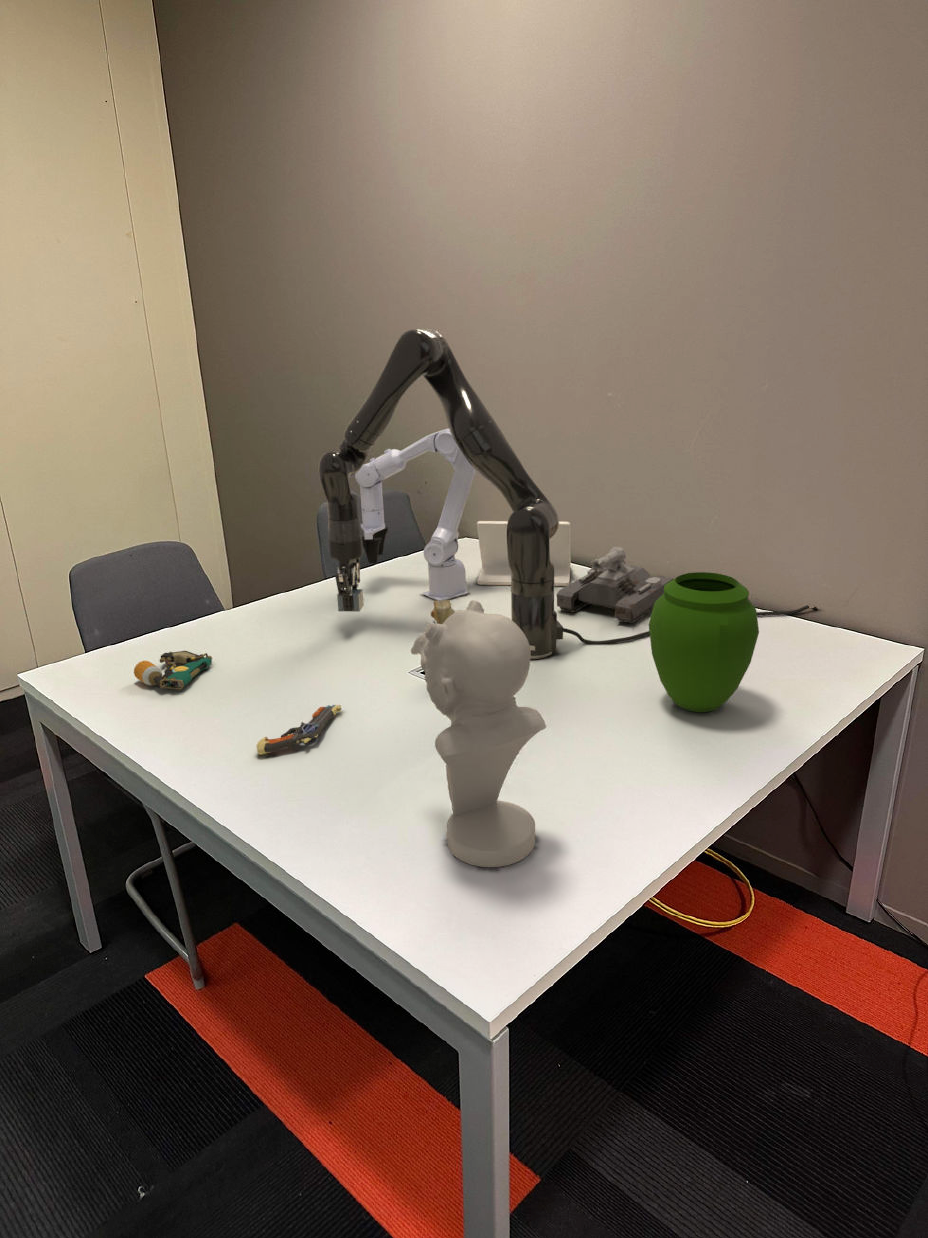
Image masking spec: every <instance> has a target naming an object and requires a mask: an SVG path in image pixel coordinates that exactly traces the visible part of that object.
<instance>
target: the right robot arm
mask: <svg viewBox="0 0 928 1238" xmlns="http://www.w3.org/2000/svg"><path fill="white" fill-rule="evenodd" d="M421 377H423V378H424V379H425V380H426V382H427V383H428V384H429V385H430V387H431V389H432V390H433V391H434V393H435V394H436V396H437V398H438V399H439V402H440V403H441V406H442V409H443V412H444V415H445V419H446V423H447V425H448V426H447V427H448V429H450V432H451V435H452V437H453V439H454V441H455V442H456V444H457V445H458V447H459V448H460V450H461V452H462V453H463V455H464V456H465V458H466V459H467V461H468V462H469V463H470V464H471V466H472V467H473V468H474V469H475V470H476V472H477V473H479V474H480V475H481V476H482V477H483V478H484V479H486V480H487V481H488V482H489V483H490V484H492V486H494V487H495V488H496V489H497V491H499V493H500V494H501V495H502V496H503V498H504V499H505V501H506V502H507V504H508V506H509V507H510V510H511V511H512V512H511V513H510V515H509V517H508V519H507V521H508V523H507V555H508V564H509V567H510V570H511V585H510V588H511V589H510V597H511V599H510V603H511V604H510V606H511V607H510V609H511V610H510V615H511V617H510V619H511V620H512V621H513V622H514V623H515V624H516V625H517V626H518V627H519V628H520V629H521V630H522V632H523V633H524V634H525V636H526V638H527V640H528V643H529V646H530V652H531V653H530V655H531V656H530V660H540V659H545V658H548V657H550V656H552V655H557V654H558V653H557V650H558V649H557V648H558V647H557V645H558V644H557V643H558V641H560V640H564V633H566V634H570V635H573V636H575V637H576V638H577V639H578V640H579V641H580V642H582V643H584V644H587V645H610V644H616V643H617V644H618V643H622V642H623V643H624V642H628V641H632V640H637V639H639V638H642V637H647V636H650V632H649V630H647V631H643V632H641V633H637V634H634V635H630V636H626V637H625V636H624V637H619V638H612V639H606V640H590V639H585V638H583V636H582V635H581V634H580V633H579V632H577V631H575V630H573V629H569V628H566V627H564V626H563V625H562V624H561V623H560V622H559V620H558V613H557V612H556V611H555V586H554V565H553V563H552V562H550V547H549V539H551V538H552V537H553V536H554V535H555V533H556V532H557V529H558V526H559V522H560V520H559V515H558V512H557V510H556V508H555V507H554V505H553V504H552V503H551V501H550V500H549V499H548V497H547V496H546V495H545V494H544V493H543V492H542V490H541V489H540V488H539V486H538V485H537V484H536V482H534V480H533V479H532V478H531V476H530V475H529V473H528V472H527V470H526V469H525V467H524V466H523V464H522V462H521V460H520V458H519V457H518V455H517V454H516V453H515V451H514V449H513V448H512V446H511V445H510V443H509V442H508V440H507V438H506V436H505V434H504V433H503V432H502V430H501V428H500V426H499V425H498V424H497V422H496V420H495V419H494V417H493V415H491V413H490V411H489V410H488V409H487V407H486V406H485V404H484V403H483V401H482V399H481V398H480V397H479V396H478V394H477V392H476V391H475V389H474V388H473V387H472V385H471V384H470V383H469V381H468V379H467V377H466V376H465V374H464V372H463V370H462V369H461V366H460V365H459V363H458V360H457V358H456V357H455V355H454V353H453V351H452V348H451V347H450V345H449V343H448V342H447V340H446V338H445V337H444V336H443V334H441V332H439V331H438V330H435V329H432V328H430V327H429V328H428V327H423V328H422V327H421V328H411V329H409V330H406V331H404V332H403V333H402V334H401V335H400V336H399V338H398V339H397V341H396V343H395V345H394V347H393V349H392V351H391V354H390V355H389V357H388V360H387V362H386V363H385V366H384V367H383V370H382V371H381V374H380V376H379V377H378V379H377V381H376V382H375V384H374V386H373V387H372V389H371V391H370V393H369V394H368V396H367V397H366V399H365V400H364V402H363V403H362V405H361V406H360V407H359V409H358V410H357V411H356V412H355V414H354V416H353V417H352V419H351V420H350V421H349V423H348V424H347V425H346V427H345V429H344V431H343V439H342V442H341V443H340V444H339V445H338V446H337V447H336V448H335V449H332V450H329V451H327V452H325V453H323V455H322V456H320V459H319V462H318V470H317V471H318V477H319V481H320V484H321V488H322V491H323V494H324V496H325V499H326V506H327V507H326V508H327V521H328V522H327V533H328V543H329V555H330V558H332V560H336V561H337V562H338V566H337V573H335V574H334V578H335V583H336V588H337V594H339V596H342V597H343V609H344V611H343V612H348V611H352V610H353V596H352V594H353V592H352V589H359V584H360V583H361V558H362V557H363V555H364V547H363V544H362V537H363V530H362V529H361V524H362V523H361V518H360V507H359V506H360V505H359V498H358V497H359V496H358V494H357V493H356V492H355V491H354V490H351V487H350V483H349V479H350V478H353V477H355V474H356V473H357V472H358V471H359V470H360V469H361V467H362V466H363V464H365V462H366V460H367V459H368V457H369V454H370V452H371V449H372V448H374V446H375V444H376V443H377V442H378V441H379V439H380V438H381V437H382V435H383V434H384V433H385V431H386V430H387V428H388V427H389V425H390V423H391V421H392V419H393V416H394V414H395V412H396V409H397V407H398V405H399V403H400V401H401V399H402V397H403V396H404V395H405V393H407V391H408V389H409V388H410V387H411V386H412V385H413V384H414V383H415V382H416V381H417V380H418V379H419V378H421ZM344 589H346V590H344ZM808 605H809V604H807V605H804V606H802V607H800V608H797V609H792V610H779V611H756V612H757V617H758V616H760V617H761V616H784V615H785V616H786V615H787V616H788V615H795V614H798V613H801V612H804V611H806V610H809V609H810V608H809V606H808ZM811 610H813V611H816V612H817V611H818V612H819V608H818V607H817V606H815V607H814V608H811Z"/></svg>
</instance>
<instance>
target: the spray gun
mask: <svg viewBox="0 0 928 1238" xmlns="http://www.w3.org/2000/svg"><path fill="white" fill-rule="evenodd" d="M212 660H213V657H212V656H211V655H208V653H207V652H205V653H201V654H197V653H194V652H192V651H191V652H190V651H188V650H180V651H169V652H164V653H162V654H161V655H160V658H159V660H158V662H159V663H161V664H163V663H165V664H166V668H165V670H163V672H164V674H163V673H162V669H160V668H159V666H157V665H156V664H154V663H152V662H151V661H149V660H141V661H139V662H138V663H136V665H135V666H134V668H133V675H134V677H135V678H136V679H137V680H139V681H140V682H142V683H143V684H145V685H147V686H155V685H157V686H158V687H160V688H161V689H171V690H172V689H173V690H182V689H184V687H185V686H186V685H188V684H189V683H190V682H191V681H192V679H193V678H195V677H196V676H197V675H198V674H200V673H201V672H202V671H203V670H206V669H208V668H209V667H210V666H211V665H212V662H213V661H212ZM178 663H179V664H181V665H179V666H176V665H177V664H178Z"/></svg>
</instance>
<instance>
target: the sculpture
mask: <svg viewBox="0 0 928 1238" xmlns="http://www.w3.org/2000/svg"><path fill="white" fill-rule="evenodd" d="M455 612H456V611H455V609H453V608H452V602H451V601H450V599H447V600H444V601H437V600H433V610H431V612H430V617H431V618H432V619H433V620H434V621H435V622H436V623H435V624H443V623H444V622H445V620H446V619H447V618H448V617H450V616H451V615H452V614H453V613H455Z"/></svg>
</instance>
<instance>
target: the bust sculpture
mask: <svg viewBox="0 0 928 1238" xmlns="http://www.w3.org/2000/svg"><path fill="white" fill-rule="evenodd" d="M454 612H455V613H453V614H452V615H451V616H450V617H448V618H447V619H446V620H445V622H444V623H443V624H436V623H435V622H430V623H428V624H427V625H426V626H425V628H424V632H423V633H421V634H419V635H418V636H417V637H416V638H415V640H414V642H413V645H412V647H411V649H410V654H412V655H420V667H421V669H422V670H423V672H424V681H425V682H426V690H427V693H428V696H429V698H430V701H431V702H432V704H434V706H435V708H436V710H438V711H439V712H440V713H441V714H442V716H446V717H447V718H448V719H449V720H450V726H448V727H446V728H445V729H443V730H442V731H441V732H440V733H439V734H438V735H436V738H435V741H434V748H435V749H436V752H437V753H438V755H439V757H440V758H441V760H442V761H443V762H444V763H445V771H446V781H447V790H448V796H449V800H450V803H451V810H452V813H451V814H450V815H449V817H448V819H447V822H446V844H447V847H448V849H449V851H450V852H451V854H452V855H453V856H454V857H456V858H457V859H459V860H460V861H462V862H463V863H466V864H469V865H471V866H476V867H483V868H498V867H505V866H509V865H512V864H517V862H520V861H521V860H523V859H525V858H527V856H528V855H530V854H531V852H532V851H533V849H535V848H534V847H535V845H536V822H535V821H536V820H535V819H534V817H533V816H532V814H531V813H530V812H529V811H528V810H526V809H525V808H524V807H522V806H520V805H517V804H515V803H513V802H509V801H504V800H499V796H500V793H501V790H502V788H503V785H504V783H505V780H506V778H507V776H508V773H509V771H510V769H511V768H512V765H513V763H514V761H515V760H516V759H517V756H518V755H519V753H520V752H521V750H522V749H523V748H524V747H525V745H526V744H527V743H528V742H529V741H530V740H531V739H532V738H533V737H535V735H537V734H538V733H539V732H541V731H544V730H545V729H546V728H547V725H546V723H545V720H544V718H543V717H542V714H541V713H540V712H539V711H538V710H537V709H535V708H533V707H530V706H518V705H517V701H516V699H517V698H516V696H515V695H516V694H517V693H519V691H521V689H522V688H523V686H524V684H525V683H526V680H527V678H528V675H529V669H530V666H531V659H530V656H531V655H530V653H531V652H530V646H529V643H528V640H527V638H526V636H525V634H524V633H523V632H522V630H521V629H520V628H519V627H518V626H517V625H516V624H515V623H514V622H513V621H512V620H511V618H508V617H507V616H504V615H503V614H502V615H501V614H496V613H485V609H484V607H483V605H482V603H481V602H480V601H478V600H473V599H472V600H470V601H469V603H468V605H467V607H466V609H460V610H457V611H454Z"/></svg>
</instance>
